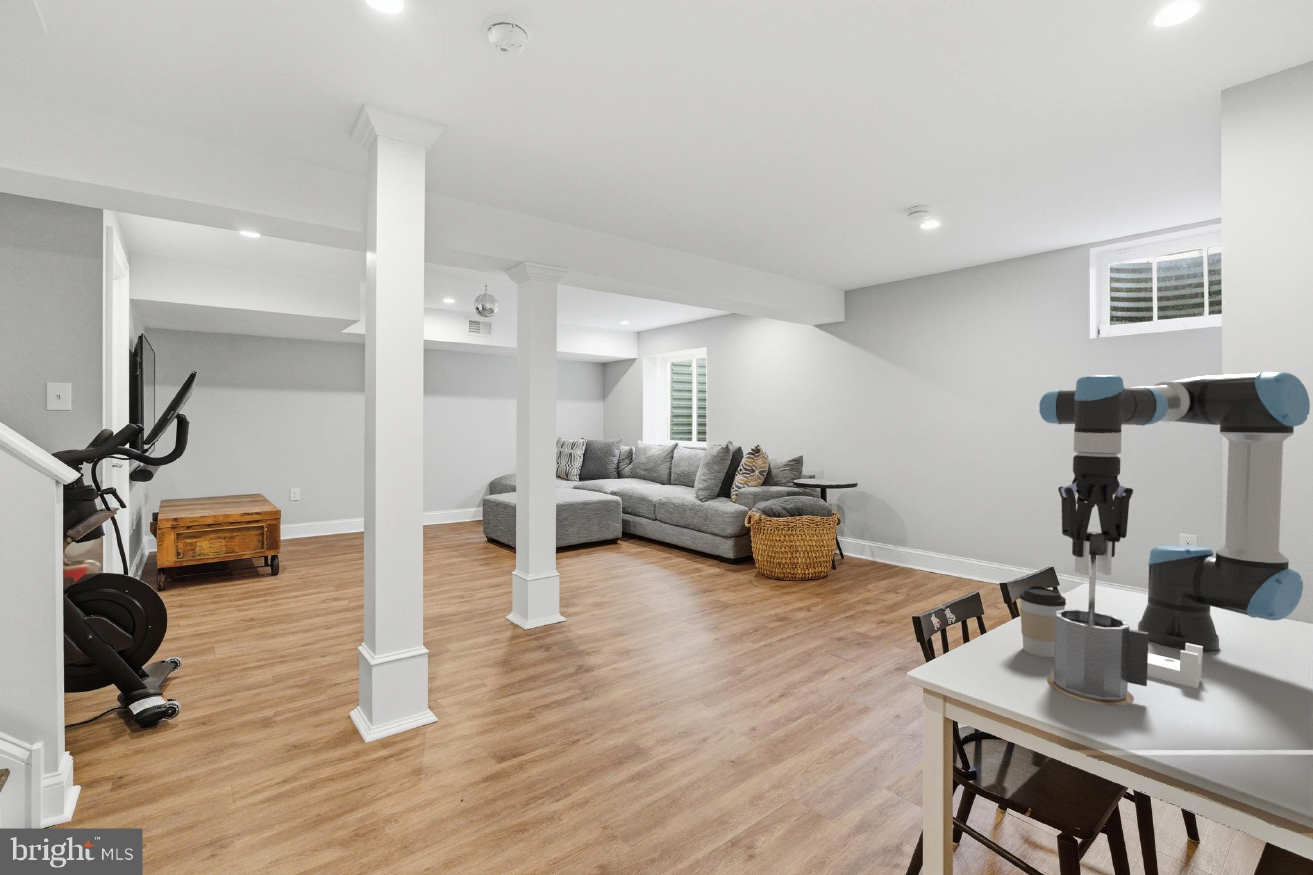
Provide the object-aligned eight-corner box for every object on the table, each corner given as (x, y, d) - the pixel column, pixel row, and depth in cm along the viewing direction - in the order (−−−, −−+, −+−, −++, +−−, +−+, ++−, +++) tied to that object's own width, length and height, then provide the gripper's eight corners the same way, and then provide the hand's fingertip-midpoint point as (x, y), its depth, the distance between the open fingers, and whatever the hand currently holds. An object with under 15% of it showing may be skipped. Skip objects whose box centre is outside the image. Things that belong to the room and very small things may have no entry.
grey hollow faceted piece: (1102, 675, 126) (1105, 609, 125) (1150, 702, 114) (1153, 629, 113) (1040, 675, 125) (1042, 609, 125) (1081, 702, 113) (1083, 629, 113)
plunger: (1095, 626, 123) (1098, 529, 123) (1126, 640, 115) (1130, 537, 115) (1057, 626, 123) (1059, 529, 122) (1085, 640, 115) (1089, 537, 114)
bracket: (1201, 682, 125) (1202, 646, 125) (1196, 692, 120) (1197, 655, 120) (1123, 662, 135) (1124, 629, 134) (1115, 671, 130) (1116, 636, 130)
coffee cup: (1072, 663, 133) (1074, 596, 133) (1027, 659, 135) (1028, 593, 135) (1053, 648, 142) (1055, 585, 142) (1011, 645, 144) (1013, 582, 143)
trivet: (1097, 676, 127) (1097, 673, 127) (1153, 708, 113) (1153, 705, 113) (1031, 676, 126) (1031, 673, 126) (1079, 708, 112) (1079, 705, 112)
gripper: (1123, 453, 122) (1119, 568, 123) (1041, 453, 122) (1038, 568, 122) (1154, 456, 114) (1150, 578, 115) (1067, 455, 114) (1063, 578, 115)
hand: (1092, 572), depth 119 cm, fingers open, 4 cm apart
